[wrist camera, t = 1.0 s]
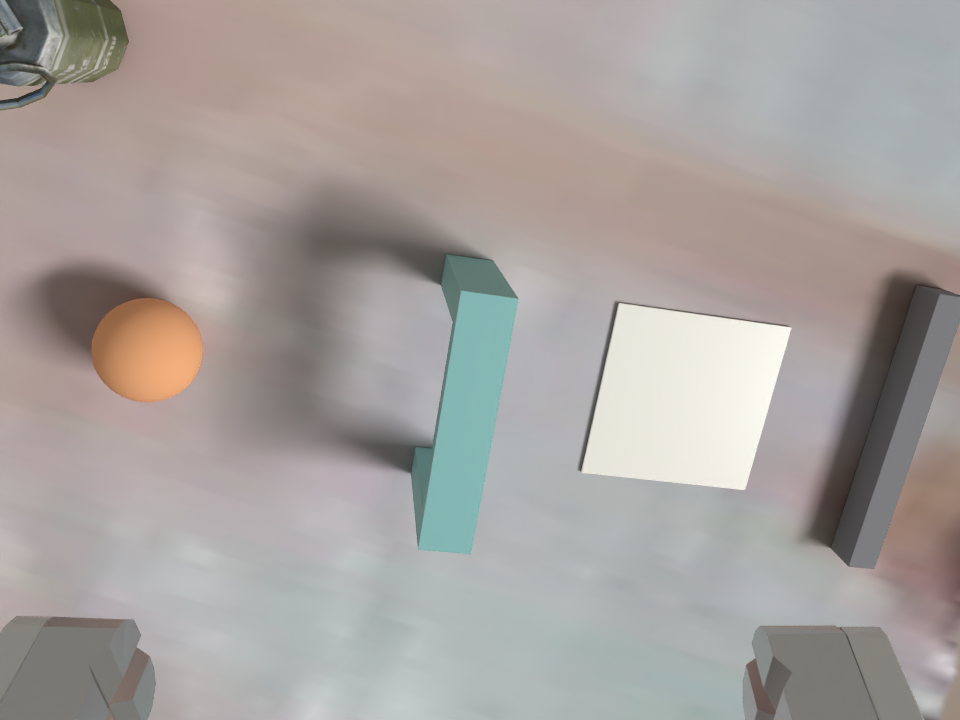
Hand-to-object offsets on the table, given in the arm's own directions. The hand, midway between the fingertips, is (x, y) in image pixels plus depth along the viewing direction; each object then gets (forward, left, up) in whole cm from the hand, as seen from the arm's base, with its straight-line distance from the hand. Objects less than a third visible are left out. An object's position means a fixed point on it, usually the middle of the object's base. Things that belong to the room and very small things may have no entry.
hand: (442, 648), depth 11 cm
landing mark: (-10, -21, -42) cm, 48 cm away
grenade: (+6, +18, -42) cm, 46 cm away
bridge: (-10, -5, -42) cm, 44 cm away
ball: (-10, +13, -39) cm, 42 cm away
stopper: (-10, -36, -42) cm, 57 cm away
